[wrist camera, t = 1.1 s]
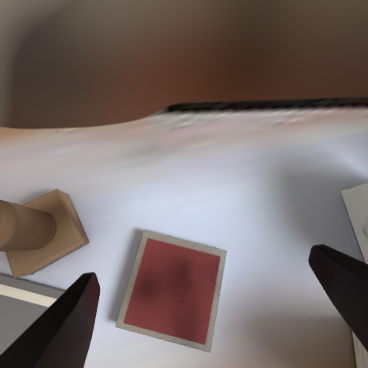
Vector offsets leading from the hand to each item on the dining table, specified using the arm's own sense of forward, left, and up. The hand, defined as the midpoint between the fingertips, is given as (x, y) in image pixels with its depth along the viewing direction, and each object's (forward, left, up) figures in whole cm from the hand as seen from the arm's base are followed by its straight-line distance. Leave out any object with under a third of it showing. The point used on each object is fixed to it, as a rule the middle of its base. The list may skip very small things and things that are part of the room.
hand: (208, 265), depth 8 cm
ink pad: (-3, +1, -14) cm, 14 cm away
